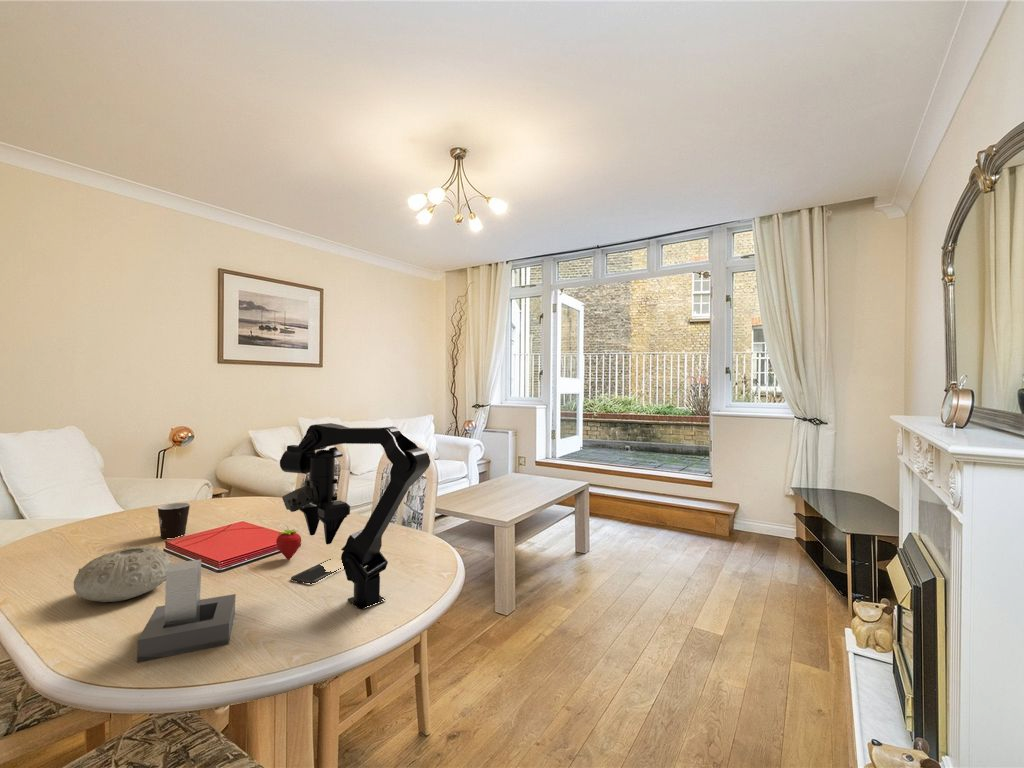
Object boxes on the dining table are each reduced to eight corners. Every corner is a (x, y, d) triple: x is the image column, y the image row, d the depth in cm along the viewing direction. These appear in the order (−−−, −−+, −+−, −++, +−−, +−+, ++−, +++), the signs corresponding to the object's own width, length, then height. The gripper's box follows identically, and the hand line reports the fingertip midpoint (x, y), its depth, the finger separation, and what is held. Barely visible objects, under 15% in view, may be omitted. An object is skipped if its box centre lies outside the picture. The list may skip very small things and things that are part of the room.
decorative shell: (51, 615, 97) (53, 568, 98) (102, 581, 114) (103, 541, 115) (149, 606, 102) (150, 561, 102) (183, 575, 119) (184, 537, 119)
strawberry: (288, 565, 127) (289, 529, 127) (270, 560, 130) (271, 525, 131) (306, 558, 133) (307, 524, 133) (288, 554, 136) (289, 520, 136)
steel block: (199, 622, 93) (201, 559, 93) (195, 634, 89) (197, 567, 89) (169, 628, 91) (171, 563, 91) (163, 640, 86) (166, 572, 87)
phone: (353, 562, 128) (312, 582, 114) (352, 566, 128) (312, 587, 114) (330, 558, 131) (288, 577, 117) (330, 562, 131) (288, 581, 117)
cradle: (235, 612, 100) (235, 593, 100) (228, 643, 87) (229, 623, 88) (155, 626, 94) (156, 606, 94) (136, 662, 81) (137, 640, 81)
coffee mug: (160, 533, 152) (161, 504, 153) (191, 531, 156) (192, 501, 156) (150, 544, 142) (151, 512, 142) (183, 541, 145) (184, 510, 146)
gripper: (272, 473, 111) (271, 537, 111) (303, 485, 98) (301, 557, 98) (318, 468, 119) (316, 528, 119) (352, 479, 106) (350, 546, 106)
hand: (320, 539), depth 110 cm, fingers open, 9 cm apart
